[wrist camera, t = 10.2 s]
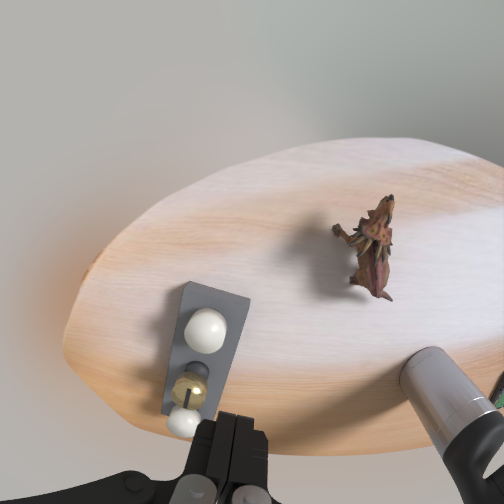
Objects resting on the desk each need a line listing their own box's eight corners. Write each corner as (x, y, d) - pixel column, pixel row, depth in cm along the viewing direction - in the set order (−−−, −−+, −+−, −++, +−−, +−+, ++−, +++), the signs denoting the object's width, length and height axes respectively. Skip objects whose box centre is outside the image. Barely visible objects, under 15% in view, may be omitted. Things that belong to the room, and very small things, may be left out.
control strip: (213, 416, 42) (209, 433, 38) (166, 401, 42) (158, 418, 37) (250, 298, 37) (248, 312, 33) (190, 280, 37) (181, 292, 33)
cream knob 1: (198, 428, 37) (194, 441, 34) (170, 419, 37) (165, 431, 34) (203, 410, 36) (199, 423, 33) (173, 400, 36) (168, 413, 33)
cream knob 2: (222, 345, 34) (218, 358, 31) (187, 335, 34) (181, 346, 31) (231, 314, 33) (228, 325, 30) (194, 303, 33) (188, 313, 30)
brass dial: (204, 399, 34) (200, 415, 31) (175, 390, 34) (168, 405, 31) (211, 377, 33) (206, 392, 30) (179, 367, 33) (172, 382, 30)
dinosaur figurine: (325, 205, 34) (345, 211, 25) (368, 192, 33) (400, 194, 24) (351, 307, 37) (373, 340, 28) (390, 292, 36) (421, 320, 27)
